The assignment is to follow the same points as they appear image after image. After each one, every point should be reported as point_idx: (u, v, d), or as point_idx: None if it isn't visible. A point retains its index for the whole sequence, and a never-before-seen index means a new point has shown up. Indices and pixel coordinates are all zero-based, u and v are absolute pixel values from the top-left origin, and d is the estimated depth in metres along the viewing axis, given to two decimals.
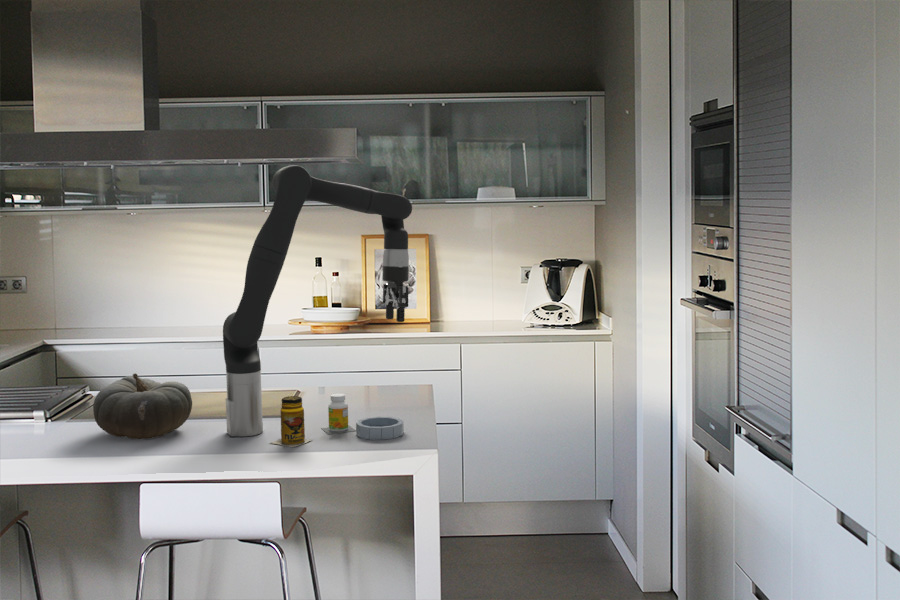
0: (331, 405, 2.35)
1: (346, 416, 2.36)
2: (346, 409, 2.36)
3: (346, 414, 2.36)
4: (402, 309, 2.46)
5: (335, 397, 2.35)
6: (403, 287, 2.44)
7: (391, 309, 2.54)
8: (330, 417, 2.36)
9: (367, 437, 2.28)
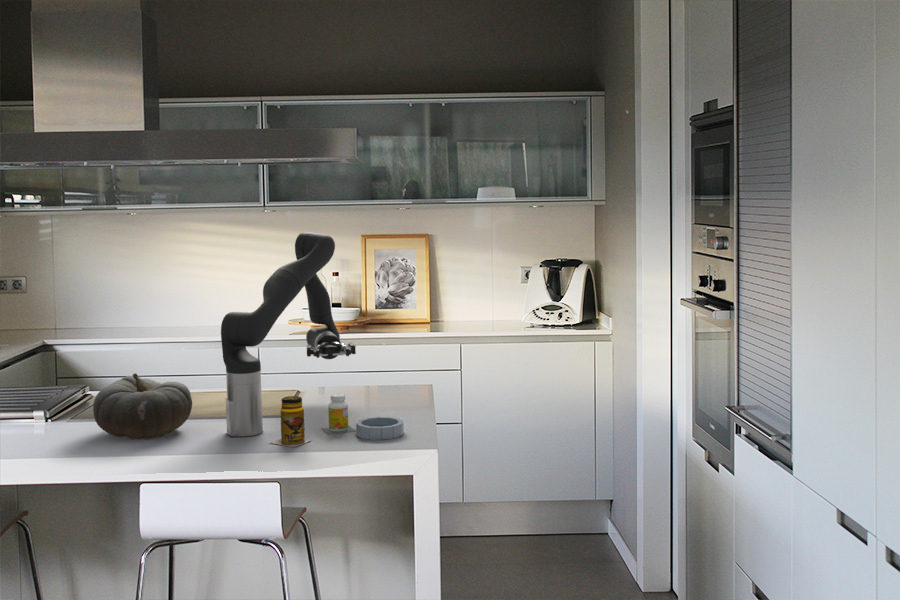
0: (331, 405, 2.35)
1: (346, 416, 2.36)
2: (346, 409, 2.36)
3: (346, 414, 2.36)
4: None
5: (335, 397, 2.35)
6: None
7: None
8: (330, 417, 2.36)
9: (367, 437, 2.28)
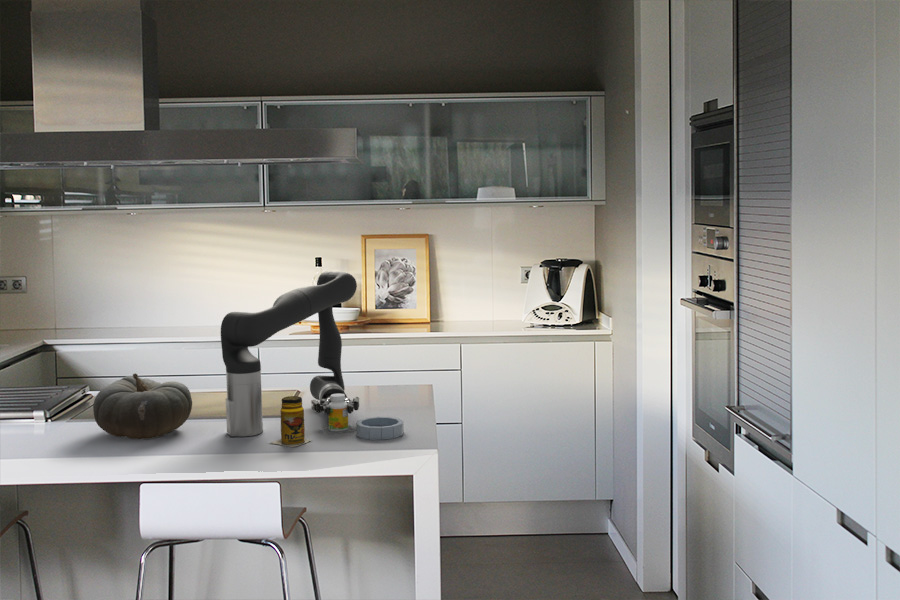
0: (331, 405, 2.35)
1: (346, 416, 2.36)
2: (346, 409, 2.36)
3: (346, 414, 2.36)
4: (352, 407, 2.39)
5: (335, 397, 2.35)
6: None
7: None
8: (330, 417, 2.36)
9: (367, 437, 2.28)
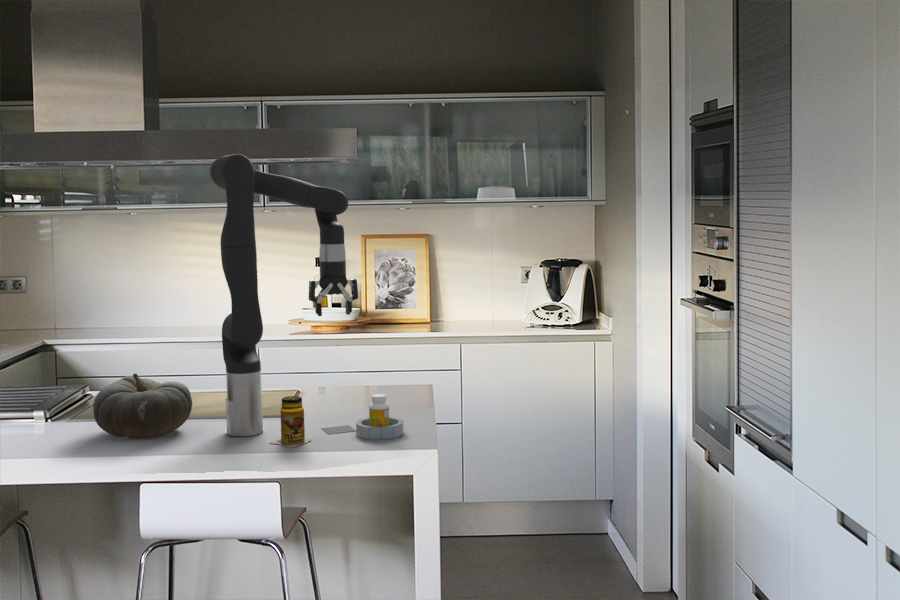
0: (372, 406, 2.31)
1: (388, 417, 2.32)
2: (387, 410, 2.32)
3: (387, 415, 2.31)
4: None
5: (376, 398, 2.30)
6: (355, 280, 2.52)
7: None
8: (371, 418, 2.31)
9: (367, 437, 2.28)
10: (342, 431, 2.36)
